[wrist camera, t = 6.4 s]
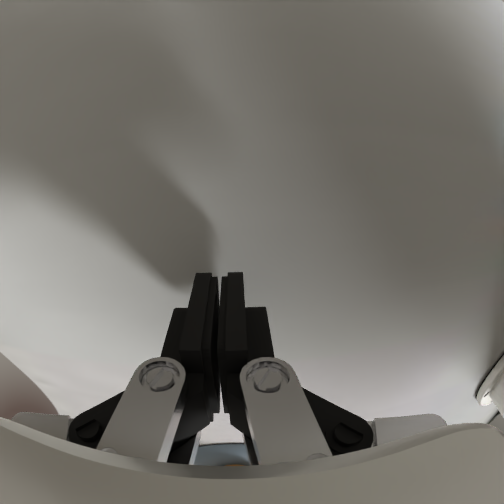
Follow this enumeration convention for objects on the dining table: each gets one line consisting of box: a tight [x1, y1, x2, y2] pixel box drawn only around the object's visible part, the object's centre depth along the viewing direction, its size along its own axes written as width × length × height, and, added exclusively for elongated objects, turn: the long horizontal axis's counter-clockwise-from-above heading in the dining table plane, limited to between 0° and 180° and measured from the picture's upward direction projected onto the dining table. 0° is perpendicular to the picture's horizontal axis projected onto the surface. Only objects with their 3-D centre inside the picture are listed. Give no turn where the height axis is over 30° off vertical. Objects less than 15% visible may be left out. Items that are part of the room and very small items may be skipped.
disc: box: [194, 444, 250, 466], centre depth 20 cm, size 13×13×1 cm
